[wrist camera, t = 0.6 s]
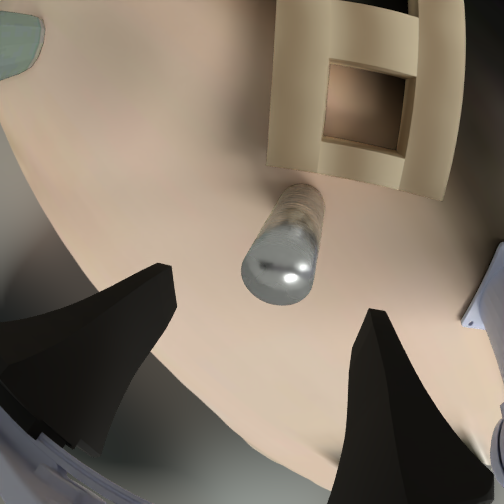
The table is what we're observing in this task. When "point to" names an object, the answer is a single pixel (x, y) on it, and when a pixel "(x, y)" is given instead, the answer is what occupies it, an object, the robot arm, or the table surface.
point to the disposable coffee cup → (19, 42)
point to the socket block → (377, 60)
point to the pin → (286, 248)
